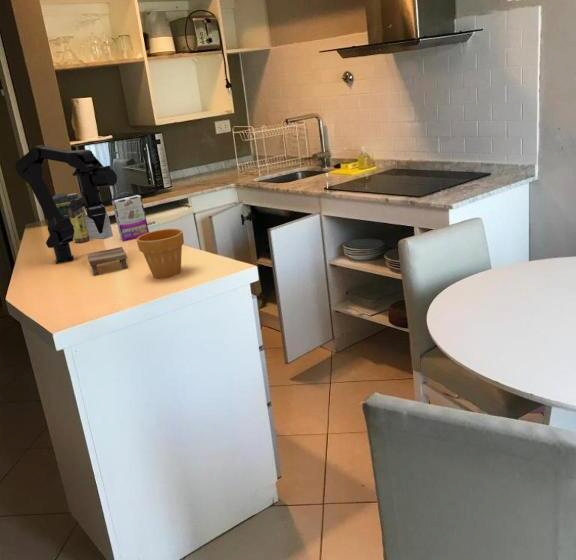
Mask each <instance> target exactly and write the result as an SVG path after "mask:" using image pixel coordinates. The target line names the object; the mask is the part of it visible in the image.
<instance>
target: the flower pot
mask: <svg viewBox="0 0 576 560" xmlns="http://www.w3.org/2000/svg"><path fill="white" fill-rule="evenodd" d="M184 238H185V237H184V232H183V230H182V229H179V228H165V229H159V230H153V231H149V233H146V234H143V235H141V236H139V237H138V238H136V242H137V247H138V251H139V252H140V253H142V255H143V256H144V258H145V261H146V263H147V266H148V268H149V270H150V272H151V275H152V277H153V278H155V279H167V278H168V279H169V278H172V277H175V276H177V275H179V274H180V273H181V272H182V248H183V245H184V244H185V241H184Z"/></svg>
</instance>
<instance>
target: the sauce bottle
mask: <svg viewBox="0 0 576 560" xmlns="http://www.w3.org/2000/svg"><path fill="white" fill-rule="evenodd" d="M78 197H79V196H78V193H69V195H67V198H68V200H69V202H71V201H72V200H73V199H76V198H78ZM84 211H85V210H83V207H82V208H80V209H78V210H77V211H76V212H74V213H72V211H71V210H70V208H69V210H68V214H69V218H70V220H71V223H72V225H73V226H74V227H73V228H74V231H75V233H74V237H73V240H74V243H76V244H77V243H79V244H80V243H82V244H83V243H85V242H88V241H90V238H89V235H88V230H87V226H86V222H85V218H84V216H85V215H86V214H85V212H84Z"/></svg>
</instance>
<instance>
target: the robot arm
mask: <svg viewBox="0 0 576 560" xmlns="http://www.w3.org/2000/svg"><path fill="white" fill-rule="evenodd" d="M46 160H49V161H55V162H59V163H60V162H61V163H64V164H67V165H68V166H70V167H71V168H74V169H75V170H74V172H73V173H72V176H73V177H75V176H77V177H78V182H79V184H80V185H79V186H80V188H81V192H80V194H81V195H80V196H78V198H76V199H73V200H72V201H71V202H69V203H68V204H67V205H68V207H69V208H70V210H71V211H72V213H74V212H76V211H77V210H78V209H80V208H82V209H83V207H84V211H85V213H86V215H87V216H88V217H89V218H90V219H92V220H93V221H94V223H95V225H96V227H97V230H98V232H99V233H102V232H103V226H104V221H105V216H106V213H107V209H106V206H105V205H103V201H102V198H101V193H100V187H101V188H102V187H113V186H115V185H116V184H117V181H118V177H117V174H116V172H115V170H114V169H112V168H111V165H105V166H104V164H102V163H101V161H100V160H99V159H98V158H97V157H96V156H95V154H94V153H93V151H92V150H90V149H78V150H77V149H76V150H68V149H62V148H58V147H52V146H48V145H44V144H40V145H37V146H36V145H35V146H33V147H32V148H31V149H30V150H29V151H28V152H27V153H25V154H24V155H23V156H21V158H20V159H19V158H18V159H17V160H16V162H15V165H14V169H15V171H16V172H17V174H18V175H19V177H20V178H21V179H22V181H24V182H26V183H27V184H29V187H30V188H31V190H32V192H33V194H34V196H35V199H36V200H37V202H38V203H39V205H40V208H41V209H42V212H43V213H44V215H45V217H46V219H47V230H48V233H49V236H48V238H47V239H46V241H45V244H46V246H47V248H49V249H52V248H53V251H54V256H55V264H62V263H66V262H72V261H75V258H74V254H73V253H72V250H71V247H70V243H71V242H74V233H75V231H74V228H73V227H74V226H73V225H72V223H71V220H70V218H69V217H67V218H64V217H63V216H62V215H61V214H60V212H59V210H58V208H57V206H56V204H55V202H54V200H53V196H52V195H51V194H52V193H51V192H50V190H49V188H48V187H47V185H46V182H45V181H44V178H43V177H44V170H43V169H44V168H43V167H42V165H43V164H44V163H45V161H46ZM72 254H73V255H72Z"/></svg>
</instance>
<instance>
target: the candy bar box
mask: <svg viewBox="0 0 576 560" xmlns="http://www.w3.org/2000/svg"><path fill="white" fill-rule="evenodd" d="M111 203H112V208H113V212H114V215H115V221H116V225H117V229H118V233H119V237H120V240H121V241H122V242H127V241H132V240H134V239H137V238H138V237H139V236H141V235H143V234H146V233H149V232H150V230H149V226H148V221H147V218H146V216H147V215H146V213H145V208H144V203H143V198H142V196H141V195H140V194H135V195H131V196H128V197H123V198H117V199H113V200H111Z"/></svg>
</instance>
